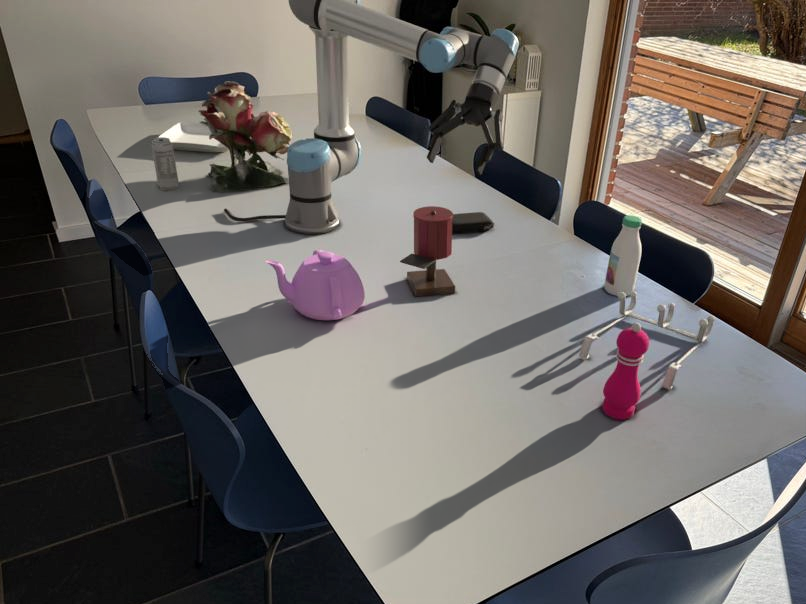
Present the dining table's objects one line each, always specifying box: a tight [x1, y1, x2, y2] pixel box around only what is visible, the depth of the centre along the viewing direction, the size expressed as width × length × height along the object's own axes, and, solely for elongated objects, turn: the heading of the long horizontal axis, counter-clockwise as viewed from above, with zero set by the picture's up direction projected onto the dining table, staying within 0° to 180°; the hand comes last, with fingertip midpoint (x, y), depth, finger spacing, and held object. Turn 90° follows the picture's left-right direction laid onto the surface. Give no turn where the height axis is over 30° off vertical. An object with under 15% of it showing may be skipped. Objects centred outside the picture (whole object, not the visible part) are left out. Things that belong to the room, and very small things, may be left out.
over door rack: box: [578, 290, 716, 391], centre depth 162 cm, size 22×29×10 cm
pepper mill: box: [602, 322, 650, 420], centre depth 138 cm, size 7×7×20 cm
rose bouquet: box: [197, 80, 293, 193], centre depth 232 cm, size 26×29×30 cm
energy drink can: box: [150, 136, 180, 191], centre depth 223 cm, size 6×6×15 cm
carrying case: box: [452, 211, 495, 234], centre depth 216 cm, size 11×3×15 cm
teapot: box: [265, 249, 366, 321], centre depth 165 cm, size 22×22×14 cm
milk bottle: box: [603, 214, 643, 297], centre depth 183 cm, size 8×8×20 cm
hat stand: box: [406, 260, 456, 297], centre depth 178 cm, size 10×10×19 cm
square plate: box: [156, 121, 230, 154], centre depth 265 cm, size 27×27×4 cm
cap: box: [399, 205, 454, 270], centre depth 173 cm, size 14×10×11 cm
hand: (453, 166), depth 177 cm, fingers open, 13 cm apart
